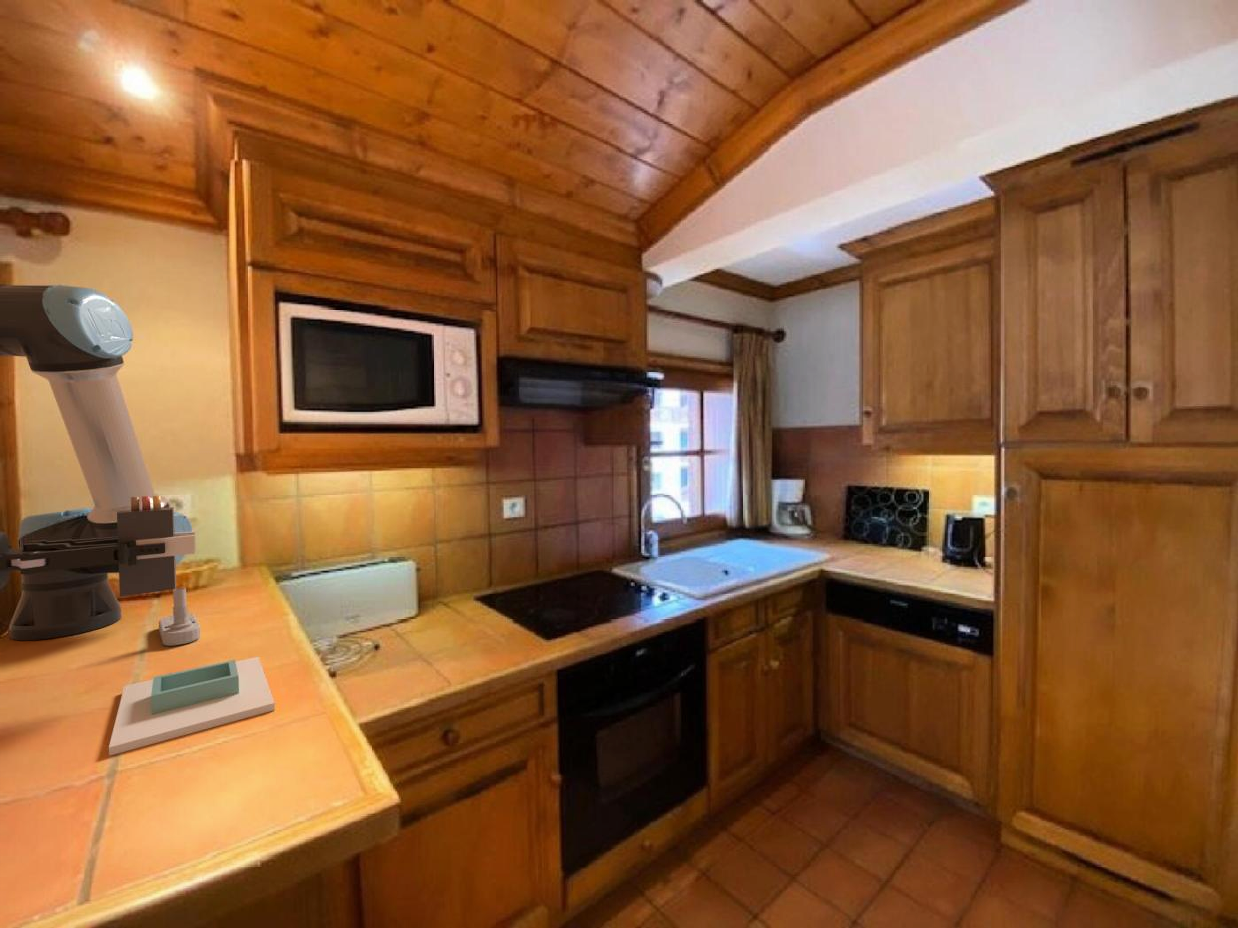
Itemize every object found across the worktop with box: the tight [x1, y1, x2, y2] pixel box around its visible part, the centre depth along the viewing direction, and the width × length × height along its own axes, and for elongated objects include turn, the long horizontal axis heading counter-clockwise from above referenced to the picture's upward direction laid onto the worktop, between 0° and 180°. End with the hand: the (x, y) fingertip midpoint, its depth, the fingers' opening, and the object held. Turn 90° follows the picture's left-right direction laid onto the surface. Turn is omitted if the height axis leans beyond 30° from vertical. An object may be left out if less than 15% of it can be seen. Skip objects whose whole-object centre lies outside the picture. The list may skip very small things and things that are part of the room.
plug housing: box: [117, 495, 177, 598], centre depth 78 cm, size 4×6×14 cm, turn 129°
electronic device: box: [158, 587, 201, 647], centre depth 98 cm, size 5×10×15 cm
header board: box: [108, 656, 276, 757], centre depth 73 cm, size 20×16×4 cm
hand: (194, 542), depth 81 cm, fingers closed on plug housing, 4 cm apart
